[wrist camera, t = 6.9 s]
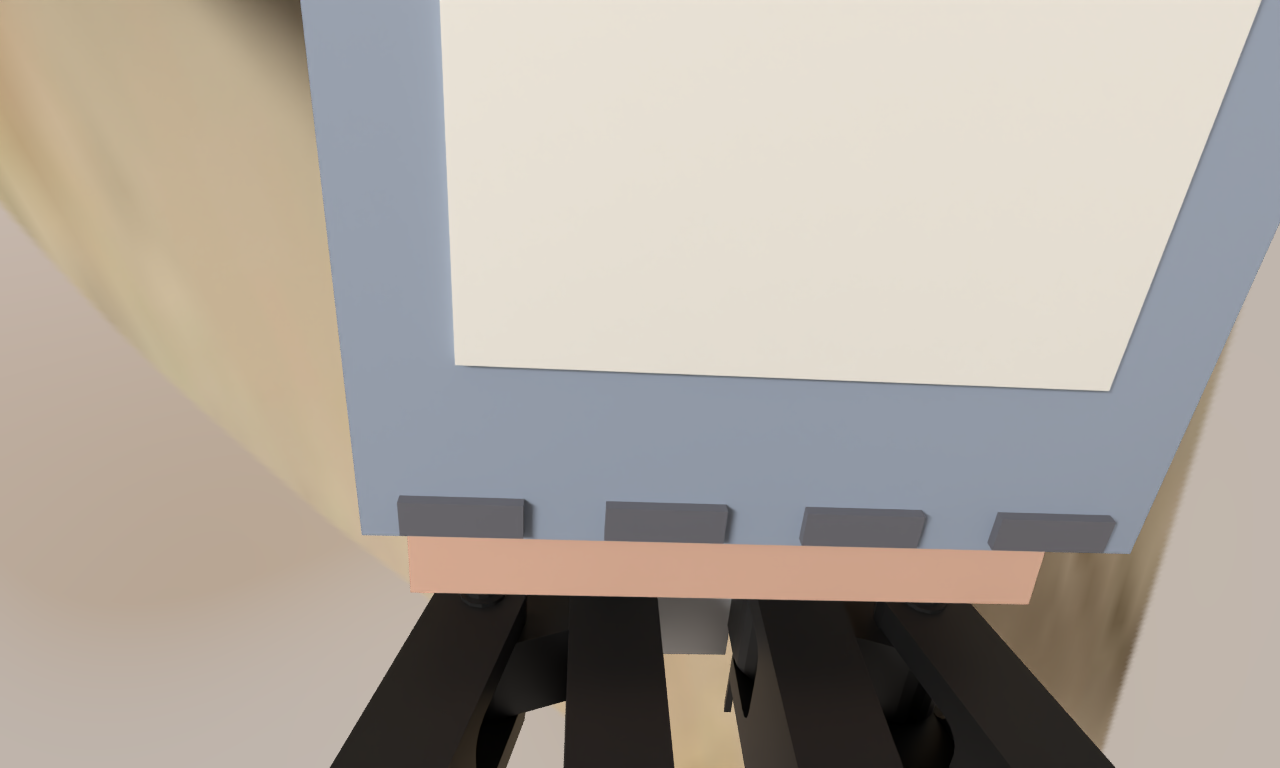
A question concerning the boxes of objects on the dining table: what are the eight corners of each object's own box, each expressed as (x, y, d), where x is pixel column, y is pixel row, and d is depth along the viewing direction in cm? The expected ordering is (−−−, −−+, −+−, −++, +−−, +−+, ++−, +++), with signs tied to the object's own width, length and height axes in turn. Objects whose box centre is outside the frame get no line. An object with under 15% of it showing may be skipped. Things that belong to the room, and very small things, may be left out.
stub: (406, 520, 9) (411, 598, 10) (1048, 537, 10) (1026, 610, 10) (488, 299, 17) (488, 349, 17) (856, 315, 17) (848, 364, 18)
